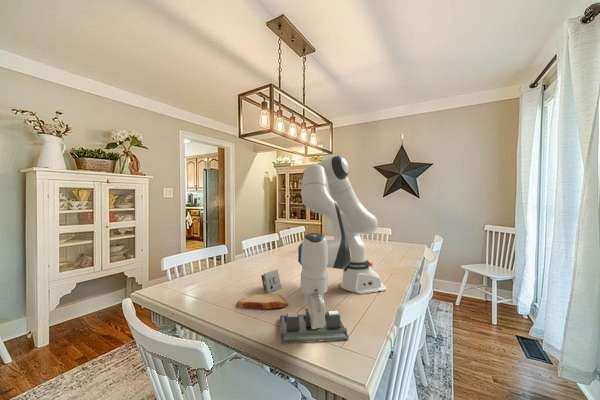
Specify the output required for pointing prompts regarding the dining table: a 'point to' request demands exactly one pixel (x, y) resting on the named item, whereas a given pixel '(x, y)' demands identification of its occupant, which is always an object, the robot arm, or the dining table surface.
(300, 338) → the panel
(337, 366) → the dining table surface
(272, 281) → the electrical switch
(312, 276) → the robot arm
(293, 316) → the breaker
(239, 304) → the slice of bread
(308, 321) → the breaker mid
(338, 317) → the breaker
